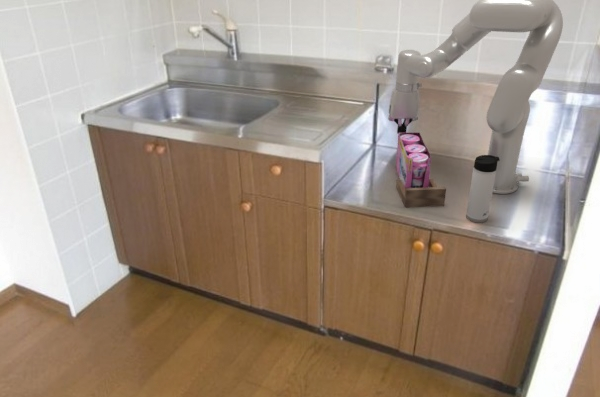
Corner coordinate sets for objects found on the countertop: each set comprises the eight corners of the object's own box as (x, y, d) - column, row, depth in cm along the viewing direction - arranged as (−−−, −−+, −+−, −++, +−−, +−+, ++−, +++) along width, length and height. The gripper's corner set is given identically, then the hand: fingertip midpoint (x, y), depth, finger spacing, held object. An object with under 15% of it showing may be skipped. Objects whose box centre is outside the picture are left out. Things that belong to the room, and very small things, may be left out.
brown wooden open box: (432, 185, 169) (433, 169, 166) (443, 205, 157) (446, 188, 154) (396, 186, 169) (397, 171, 166) (405, 207, 157) (406, 190, 154)
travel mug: (489, 223, 147) (501, 162, 137) (466, 222, 148) (476, 161, 138) (487, 213, 152) (498, 153, 143) (464, 211, 153) (474, 152, 144)
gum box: (428, 197, 162) (433, 159, 156) (404, 197, 163) (407, 159, 156) (416, 166, 183) (420, 132, 177) (395, 166, 183) (397, 132, 177)
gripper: (424, 83, 177) (418, 131, 187) (383, 83, 177) (379, 131, 186) (430, 89, 171) (423, 138, 180) (387, 90, 170) (383, 139, 180)
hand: (401, 135), depth 183 cm, fingers closed
